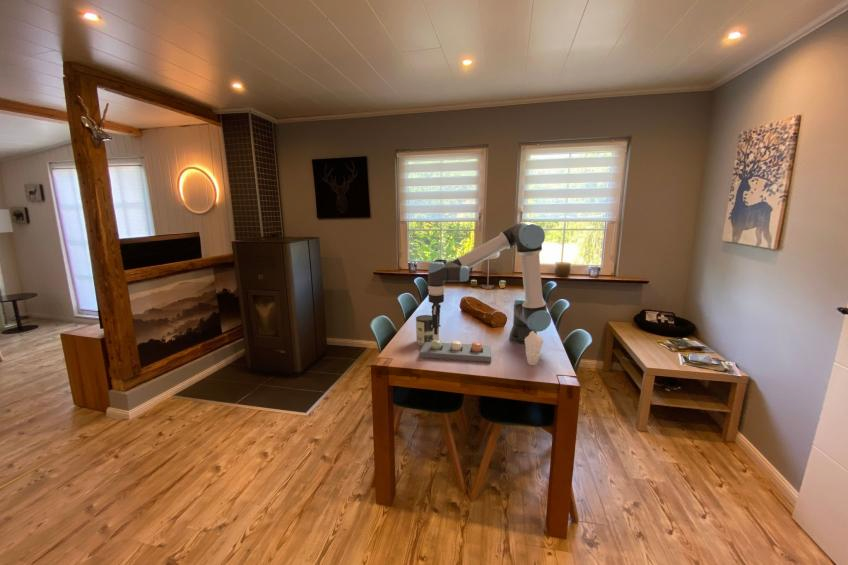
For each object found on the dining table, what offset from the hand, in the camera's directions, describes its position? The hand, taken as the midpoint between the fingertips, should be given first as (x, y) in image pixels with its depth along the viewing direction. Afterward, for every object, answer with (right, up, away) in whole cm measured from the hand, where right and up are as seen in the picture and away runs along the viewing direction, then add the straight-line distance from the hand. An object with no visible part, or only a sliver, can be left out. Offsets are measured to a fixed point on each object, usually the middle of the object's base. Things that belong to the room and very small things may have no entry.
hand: (436, 339), depth 172 cm
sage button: (0, -5, +1) cm, 5 cm away
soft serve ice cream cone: (+45, -9, -12) cm, 47 cm away
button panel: (+10, -7, 0) cm, 12 cm away
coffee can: (-5, -4, +16) cm, 18 cm away
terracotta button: (+20, -5, -3) cm, 21 cm away
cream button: (+10, -5, -1) cm, 11 cm away
